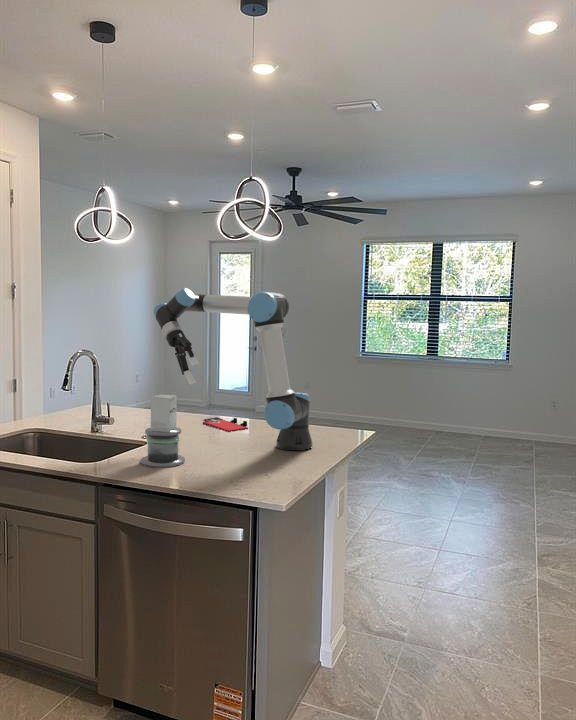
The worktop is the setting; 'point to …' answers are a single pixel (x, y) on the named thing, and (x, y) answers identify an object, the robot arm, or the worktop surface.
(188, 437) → the worktop surface
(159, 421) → the supplement box
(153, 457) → the grey round canister
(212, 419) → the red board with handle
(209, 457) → the worktop surface
